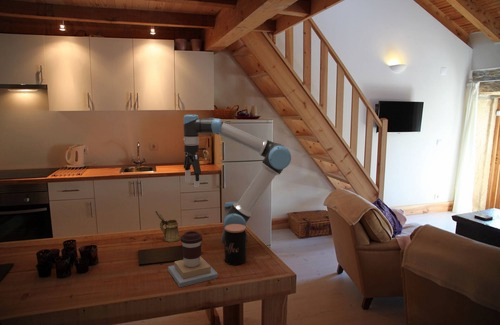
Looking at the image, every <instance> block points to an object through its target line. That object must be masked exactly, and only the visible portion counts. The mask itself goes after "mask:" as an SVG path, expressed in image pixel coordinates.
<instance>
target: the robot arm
mask: <svg viewBox="0 0 500 325" xmlns="http://www.w3.org/2000/svg"><path fill="white" fill-rule="evenodd" d="M199 134H215V135H218V136H220V137H222V138H225V139H227V140H229V141H232V142H234V143H236V144H238V145H240V146H243V147H245V148H247V149H248V150H251V151H253V152H256V153H257V154H259V156H261V157H263V158H264V159H263V160H262V161H261V165H262V166H261V167H260V169H259V170H258V172H257V173H256V174H255V176H254V177H253V179H252V181H251V183H250V184H249V185H248V187H247V188H246V190H245V191H244V192H243V194H242V195H241V197H240V199H239V200H237V201H226V202H225V203H224V206H223V208H224V212H223V213H224V215H223V221H222V222H223V227H224V228H223V231H222V235H221V242H222V243H223V244H225V231H226V230H225V226H227V225H229V224H242V225H244V226H246V227H247V224H248V221H249V220H250V218H251V217H252V211H253V209H254V207H255V206H256V205H257V203H258V202H259V200H260V199H261V198H262V196H263V194H264V193H265V191H266V190H267V189H268V188H269V186H270V185H271V183H272V181H273V180H274V179H275V177H276V176H279V175H281V174H282V172H283V171H284V170H285V169H286V168H288V167H289V165H290V164H291V161H292V155H291V152H290V150H289V148H287V147H286V146H285V145H283V144H281V143H277V142H274V141H271V140H269V139H263V138H260V137H257V136H255V135H253V134H251V133H248V132H247V131H245V130H244V131H243V130H242V129H239V128H237V127H235V126H233V125H230V124H228V123H226V122H223V121H222V119H221V118H215V117H209V118H199V115H198V114H185V115H184V116H183V143H184V146H183V148H184V149H183V150H184V163H183V169H184V173H185V175H184V179H185V181H184V182H185V183H191V179H192V178H191V169H192V171H193V188H200V184H201V183H200V175H202V170H201V165H200V160H199V154H196V153H199V152H200V148H199V147H200V145H199V143H200V137H199V136H200V135H199ZM191 166H192V168H191ZM247 241H248V234H247V233H246V243H247Z"/></svg>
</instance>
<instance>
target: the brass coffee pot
mask: <svg viewBox="0 0 500 325" xmlns="http://www.w3.org/2000/svg"><path fill="white" fill-rule="evenodd" d="M155 215H157V217H158V218H159V220H160V224H159V228H160V230H161V231H162V233H163V235H164V236H163V240H164V242H165V243H166V242H167V243H176V242H178V241H181V236H180V233H179V223H178V220H176V219H170V220H165V219H164V217H163V216H162V214H161V213H160V212H159V211H157V210H155ZM164 227H165V228H164Z"/></svg>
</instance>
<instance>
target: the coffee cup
mask: <svg viewBox="0 0 500 325" xmlns="http://www.w3.org/2000/svg"><path fill="white" fill-rule="evenodd" d="M202 241H203V235H202V234H200V232H198V231H195V230H189V231H185V232H184V233H183V234H182V235H181V236H180V242H181V251H182V257H183V260H184V265H185V266H187V267H196V266H198V265H199V264H200V256H201V255H202ZM201 257H202V256H201Z"/></svg>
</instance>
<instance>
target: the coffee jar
mask: <svg viewBox="0 0 500 325" xmlns="http://www.w3.org/2000/svg"><path fill="white" fill-rule="evenodd" d="M246 227H247V225H246V226H244V225H242V224H229V225H227V226H225V227H224V228H225V230H226V231H225V243H224V261H225V262H226V264H228V265H231V266H239V265H243V264H244V263H245V261H246V258H247V242H246V234H247V232H246V230H247V228H246Z"/></svg>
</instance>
